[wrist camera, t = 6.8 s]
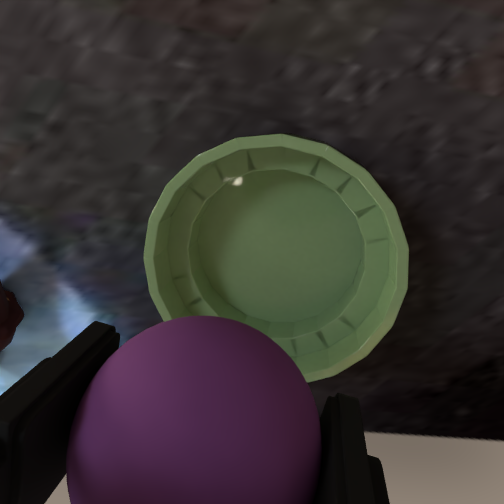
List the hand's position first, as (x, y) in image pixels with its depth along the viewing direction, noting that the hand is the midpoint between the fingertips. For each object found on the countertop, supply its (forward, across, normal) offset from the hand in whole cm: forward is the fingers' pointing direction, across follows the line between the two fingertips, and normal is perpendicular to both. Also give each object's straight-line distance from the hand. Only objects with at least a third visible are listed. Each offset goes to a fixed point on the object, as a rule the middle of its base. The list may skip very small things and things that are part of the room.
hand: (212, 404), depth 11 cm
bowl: (+16, 0, 0) cm, 16 cm away
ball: (-1, 0, 0) cm, 1 cm away
